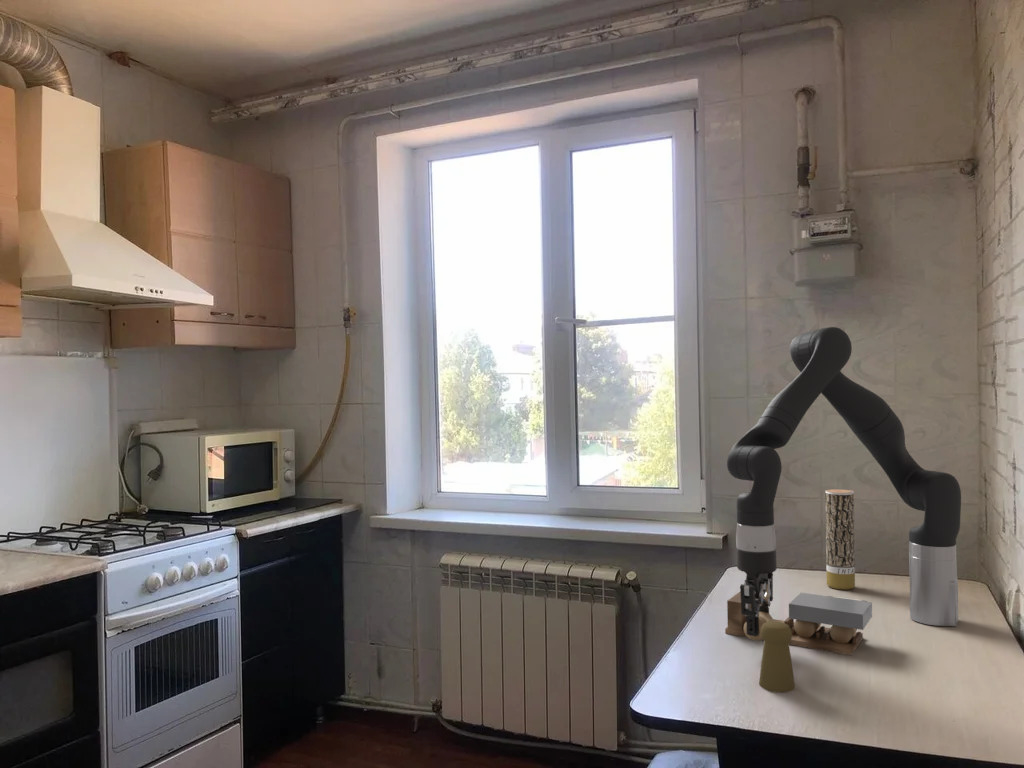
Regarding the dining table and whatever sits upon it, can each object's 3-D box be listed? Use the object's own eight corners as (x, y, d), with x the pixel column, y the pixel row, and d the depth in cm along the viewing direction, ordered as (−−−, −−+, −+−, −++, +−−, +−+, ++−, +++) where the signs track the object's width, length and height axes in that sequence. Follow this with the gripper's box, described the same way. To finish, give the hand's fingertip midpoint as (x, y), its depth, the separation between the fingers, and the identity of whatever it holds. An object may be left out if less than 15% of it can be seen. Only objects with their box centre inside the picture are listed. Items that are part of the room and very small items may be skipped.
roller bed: (864, 638, 158) (863, 604, 158) (853, 655, 148) (852, 619, 148) (743, 618, 173) (742, 587, 173) (725, 633, 163) (725, 600, 163)
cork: (766, 676, 138) (765, 615, 138) (800, 684, 135) (799, 622, 135) (753, 686, 134) (752, 624, 134) (788, 695, 130) (787, 630, 130)
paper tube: (820, 585, 200) (819, 490, 200) (839, 582, 203) (838, 488, 203) (842, 591, 194) (840, 493, 194) (861, 588, 197) (859, 491, 197)
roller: (773, 632, 153) (773, 612, 152) (764, 642, 147) (764, 621, 147) (753, 629, 155) (753, 609, 155) (743, 638, 149) (743, 618, 149)
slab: (872, 616, 157) (871, 602, 157) (863, 629, 148) (862, 614, 148) (801, 606, 164) (801, 592, 164) (789, 618, 156) (788, 603, 156)
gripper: (764, 555, 143) (767, 644, 143) (785, 541, 155) (787, 623, 155) (725, 551, 147) (727, 637, 147) (748, 537, 159) (750, 617, 159)
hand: (758, 629), depth 151 cm, fingers closed on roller, 6 cm apart
